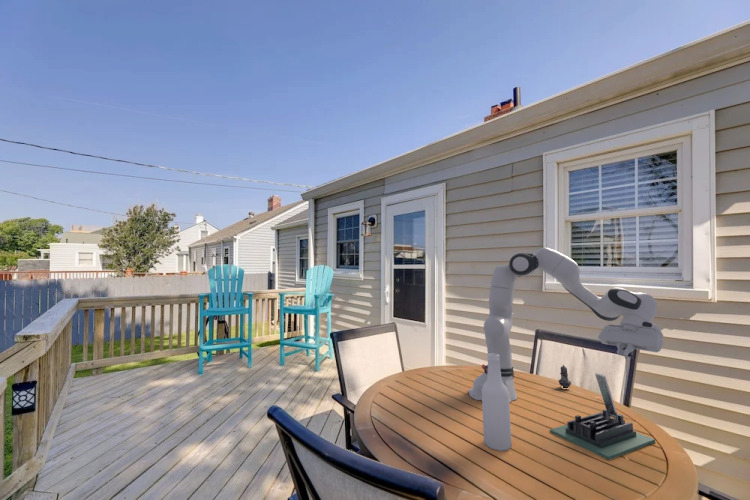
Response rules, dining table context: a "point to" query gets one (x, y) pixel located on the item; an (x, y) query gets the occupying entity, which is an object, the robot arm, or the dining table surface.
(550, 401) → the dining table surface
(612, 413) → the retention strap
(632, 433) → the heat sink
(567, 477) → the dining table surface
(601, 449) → the circuit board
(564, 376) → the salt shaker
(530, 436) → the dining table surface
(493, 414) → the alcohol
